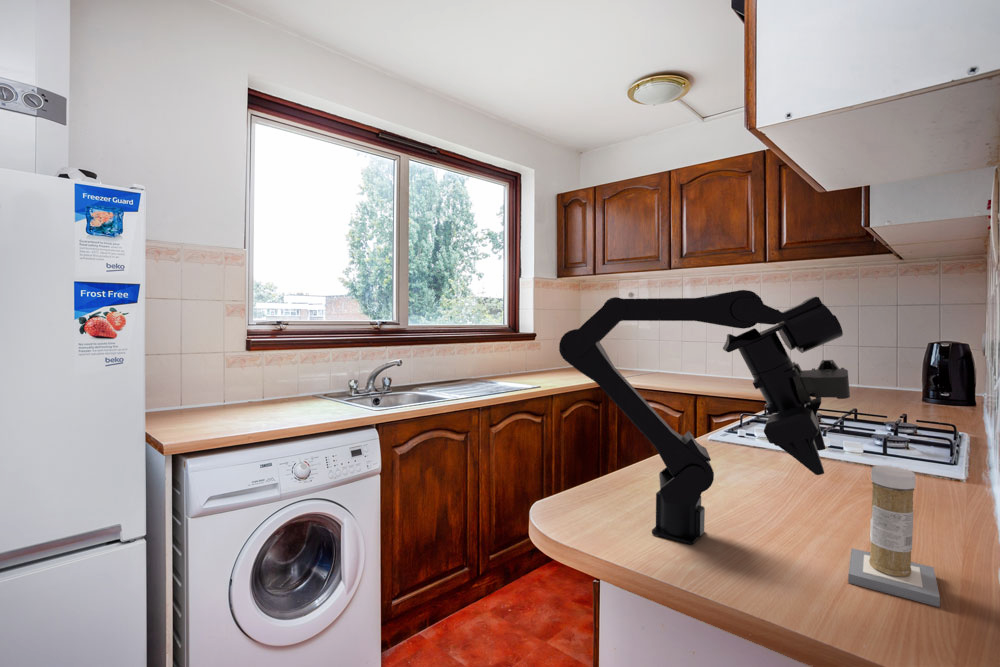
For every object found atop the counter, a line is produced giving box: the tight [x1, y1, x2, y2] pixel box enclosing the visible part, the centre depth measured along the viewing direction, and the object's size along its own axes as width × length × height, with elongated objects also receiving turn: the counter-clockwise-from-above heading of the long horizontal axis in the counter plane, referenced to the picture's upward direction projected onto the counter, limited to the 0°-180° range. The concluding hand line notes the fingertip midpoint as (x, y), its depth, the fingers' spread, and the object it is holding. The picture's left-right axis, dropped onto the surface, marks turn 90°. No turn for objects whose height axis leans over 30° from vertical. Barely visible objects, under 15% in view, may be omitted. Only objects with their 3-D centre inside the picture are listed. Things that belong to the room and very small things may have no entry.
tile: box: [847, 547, 941, 608], centre depth 66 cm, size 9×9×1 cm
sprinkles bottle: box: [869, 464, 916, 577], centre depth 66 cm, size 5×5×14 cm
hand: (821, 461), depth 74 cm, fingers open, 9 cm apart
